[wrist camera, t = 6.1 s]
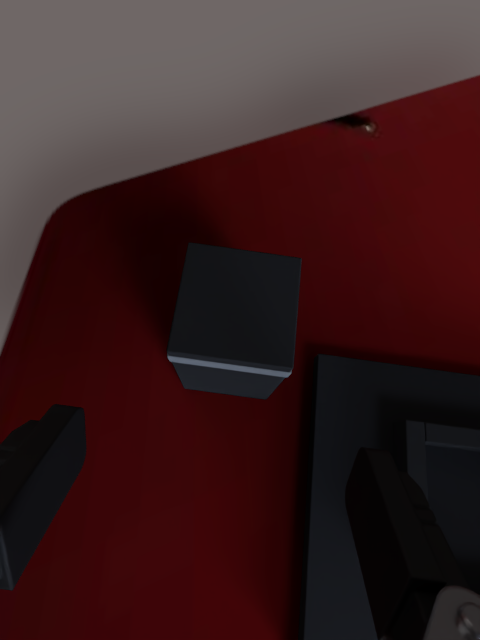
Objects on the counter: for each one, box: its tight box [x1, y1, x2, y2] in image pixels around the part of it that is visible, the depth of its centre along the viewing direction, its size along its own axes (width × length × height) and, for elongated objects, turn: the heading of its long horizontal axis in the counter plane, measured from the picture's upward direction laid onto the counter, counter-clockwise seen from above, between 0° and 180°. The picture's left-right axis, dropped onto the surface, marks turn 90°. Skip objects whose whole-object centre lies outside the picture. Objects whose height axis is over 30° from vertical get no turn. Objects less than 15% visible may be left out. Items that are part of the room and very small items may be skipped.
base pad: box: [298, 354, 480, 640], centre depth 19 cm, size 17×15×2 cm
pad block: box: [167, 242, 302, 400], centre depth 18 cm, size 5×5×8 cm
